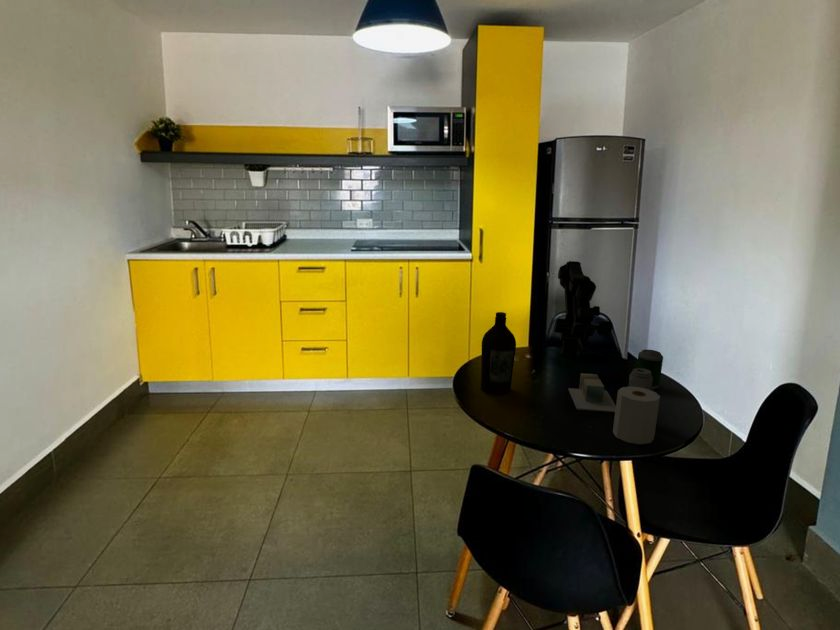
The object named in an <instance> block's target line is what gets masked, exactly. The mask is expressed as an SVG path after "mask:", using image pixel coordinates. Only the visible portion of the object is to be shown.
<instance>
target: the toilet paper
mask: <svg viewBox="0 0 840 630" xmlns="http://www.w3.org/2000/svg"><path fill="white" fill-rule="evenodd" d="M660 400H661V396H660V395H659V394H658V393H657V392H656V391H655V390H648V389H645V388H640V387H632V386H631V387H628V386H624V387H621V388H619V389H618V390H617V395H616V402H615V403H616V404H615V405H616V410H615V412H614V419H613V428H612V433H613V435H614V437H616V439H619V440H622V441H623V442H626V443H629V444H635V445H647V444H651V443H652V442H653V441H654V439H655V435H656V434H655V433H656V428H657V427H656V426H657V420H658V415H659V414H658V413H659V408H660V407H659V406H660V402H661V401H660Z"/></svg>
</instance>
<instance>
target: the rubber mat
mask: <svg viewBox="0 0 840 630" xmlns="http://www.w3.org/2000/svg"><path fill="white" fill-rule="evenodd" d="M567 390H568V392H569V394H570V396H571V399H572V401H573V404H574V406H575V409H576V410H580V411H592V412H593V411H595V412H606V413H607V412H608V413H611V412H612V413H615V410H616V404H615V402H614V400H613V398H612V396H611V395H610V394H609V392H608V391H607V390H604V393H603V402H588V401H585V399H584V397H583V395H582V393H581V391H580V389H579V388H570V387H568V389H567Z"/></svg>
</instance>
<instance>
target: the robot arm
mask: <svg viewBox="0 0 840 630" xmlns="http://www.w3.org/2000/svg"><path fill="white" fill-rule="evenodd" d="M581 265H582V263H581V262H579V261H577V260H576V261H575V260H574V261H573V260H569V261H567V262H566V263H565V264H563V265H561V266H560V267H559V269H558V273H557V278H558V280H559V285H560V286H561V287H562V289H564V302H565V303H564V305H565V316H564V318H561V317H560V318H556V319H555V322H554V325H553V331H554V333H555V334H556V333H558V334H559V335H558V336H559V337H558V338H559V339H560V341H562V348H561V351H560V352H559V353H558V356H562V357H564V358H565V357H566V358H570V359H577V357H579V356H580V355H581V352H578V351H579V346H580V347H581V349H582V350H583V351H584V350H586V349H587V346H588V341H589V338H590V337H593V336H594V334H595V331H596V332H597V333H596V334H598V335H599V336H610V334H611V332H612V330H613V329H614V325H613V323H612V322H611V321H610V320H600V321H599V322H598V324H596V323H595V324H594V323H593V322H594V319H595V317H599V316H600V314H601V309H600V308H601V307H600V306H599V305H594V306H593V307H591V301H592V299H593V297H594V294H595V292H596V289H597V286H596V283H595V282H594V281H592V280H591V278H590V277H589V276H587V275H585V273H583V272H584V271H583V270H582V266H581Z"/></svg>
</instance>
